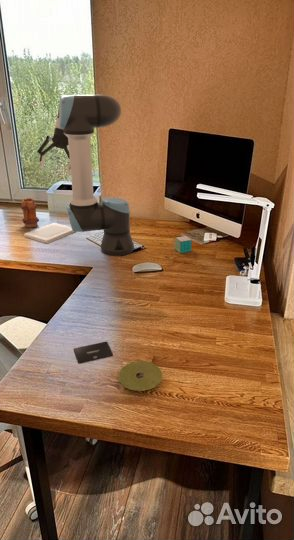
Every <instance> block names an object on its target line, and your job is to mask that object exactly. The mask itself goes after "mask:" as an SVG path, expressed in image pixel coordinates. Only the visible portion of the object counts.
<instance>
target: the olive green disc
mask: <svg viewBox="0 0 294 540" xmlns="http://www.w3.org/2000/svg"><path fill="white" fill-rule="evenodd" d="M117 376H118V381H119V383H120V384H121V385H122V386H123V387H124V388H127V389H128V390H131V391H135V392H136V391H138V392H139V391H140V392H143V391H144V392H145V391H149V390H151V389H154V388H155V387H157V386H158V385H159V384H160V383H161V382H162V378H163V372H162V370H161V369H160V368H159V367H158V365H156V364H155V363H152V362H149V361H144V360H138V361H132V362H129V363H126V364H125V365H123V366H122V368H120V370H119V372H118V375H117Z"/></svg>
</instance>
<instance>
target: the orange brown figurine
mask: <svg viewBox="0 0 294 540" xmlns="http://www.w3.org/2000/svg"><path fill="white" fill-rule="evenodd" d="M20 208H21V210H22V214H23V218H22V219H21V221H22V223H23V224H24V226H25V227H26V228H34V227H37V226H38V223H39V221H40V219H39V217H37V212H36V211H37V210H36V209H37V208H38V207H37V205H36V203H35V199H34V198H29V197H28V198H24V199H23V198H22V199H21V205H20Z"/></svg>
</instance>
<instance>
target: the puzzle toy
mask: <svg viewBox="0 0 294 540" xmlns="http://www.w3.org/2000/svg"><path fill="white" fill-rule="evenodd" d="M192 241H193V240H192V239H191V238H190V237H188V236H186V235H184V236H178V237H175V238H174V250H175V251H177V252H178V253H180V254H184V253H185V254H186V253H189V252H192V245H193V244H192V243H193V242H192Z"/></svg>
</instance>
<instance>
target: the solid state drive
mask: <svg viewBox="0 0 294 540" xmlns="http://www.w3.org/2000/svg"><path fill="white" fill-rule="evenodd" d="M73 352H74V356H75V358H76V361H77V364H84V363H85V364H86V363H88V362H93V361H97V360H101V359H106V358H109V357H110V358H111V357H114V353H113V352H112V350H111V347H110V345H109V343H108V341H103V342H98V343H93V344H88V345H83V346H79V347H75V348H73Z"/></svg>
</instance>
